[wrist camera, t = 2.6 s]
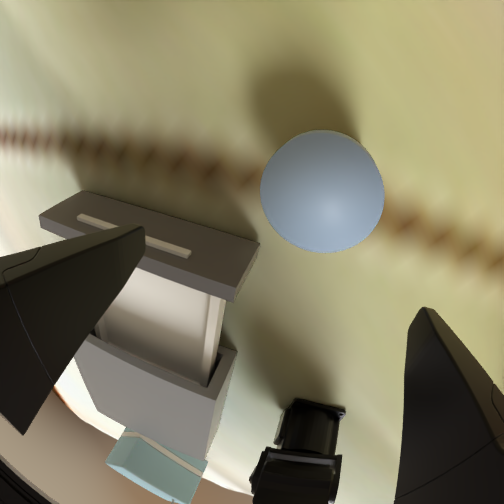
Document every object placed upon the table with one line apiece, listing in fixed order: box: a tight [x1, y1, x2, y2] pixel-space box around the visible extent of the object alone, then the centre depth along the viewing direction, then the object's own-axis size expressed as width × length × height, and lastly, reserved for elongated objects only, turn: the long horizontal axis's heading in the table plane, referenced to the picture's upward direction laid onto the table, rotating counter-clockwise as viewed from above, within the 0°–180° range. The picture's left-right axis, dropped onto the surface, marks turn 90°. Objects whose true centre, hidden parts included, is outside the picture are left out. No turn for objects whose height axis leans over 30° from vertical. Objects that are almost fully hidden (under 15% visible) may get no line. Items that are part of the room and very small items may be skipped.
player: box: [74, 328, 237, 461], centre depth 35 cm, size 18×20×6 cm
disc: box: [260, 130, 384, 253], centre depth 16 cm, size 6×6×2 cm
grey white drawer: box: [39, 190, 260, 388], centre depth 27 cm, size 18×20×6 cm
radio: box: [105, 427, 208, 504], centre depth 43 cm, size 16×9×20 cm, turn 39°
